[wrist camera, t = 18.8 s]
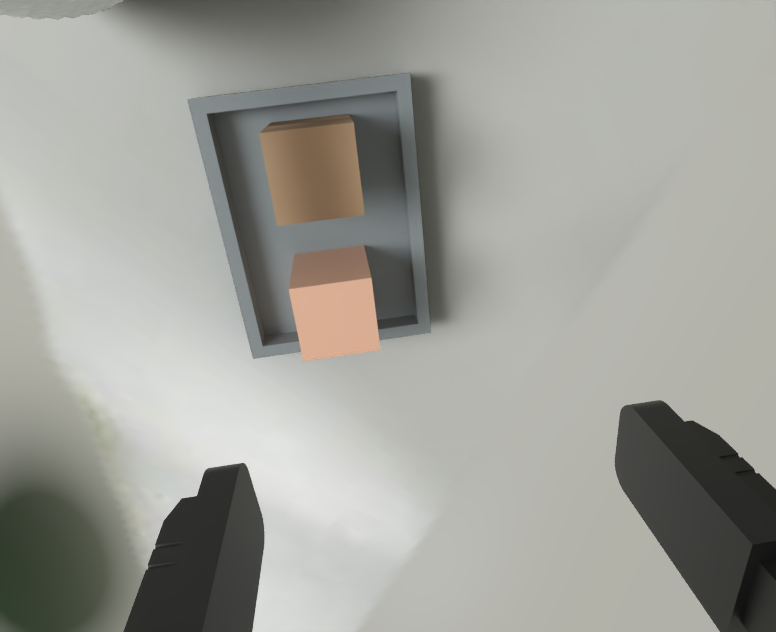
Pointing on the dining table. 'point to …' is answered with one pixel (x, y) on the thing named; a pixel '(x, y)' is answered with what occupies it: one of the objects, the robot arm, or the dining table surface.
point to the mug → (53, 8)
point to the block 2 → (333, 303)
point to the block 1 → (312, 169)
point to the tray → (279, 243)
